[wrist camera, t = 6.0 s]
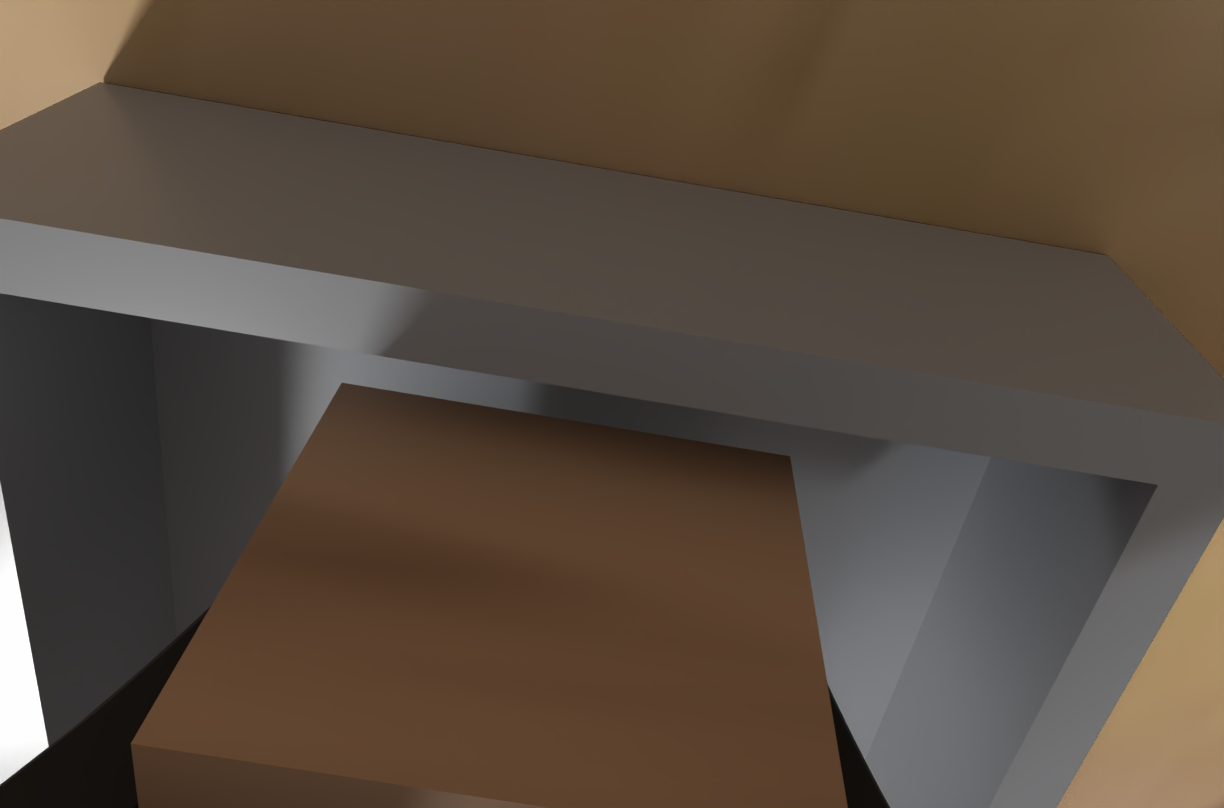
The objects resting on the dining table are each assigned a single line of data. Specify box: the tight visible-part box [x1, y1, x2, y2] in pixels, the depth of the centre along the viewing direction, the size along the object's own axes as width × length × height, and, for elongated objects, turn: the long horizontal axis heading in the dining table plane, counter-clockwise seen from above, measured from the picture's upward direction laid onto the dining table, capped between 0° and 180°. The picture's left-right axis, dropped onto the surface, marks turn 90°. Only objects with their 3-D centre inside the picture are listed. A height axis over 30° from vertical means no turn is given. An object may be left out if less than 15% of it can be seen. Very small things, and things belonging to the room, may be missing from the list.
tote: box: [0, 82, 1224, 808], centre depth 16 cm, size 18×14×4 cm
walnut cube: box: [131, 383, 848, 808], centre depth 10 cm, size 5×5×5 cm
